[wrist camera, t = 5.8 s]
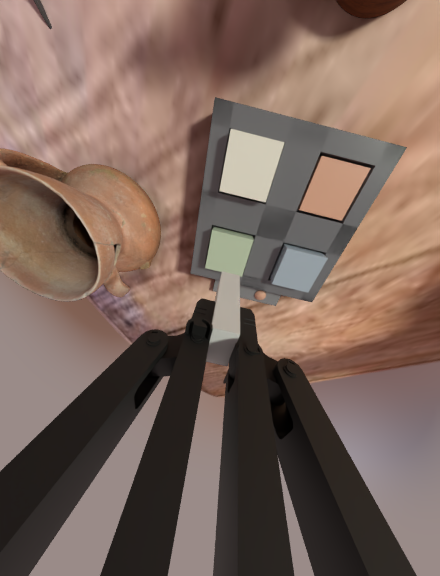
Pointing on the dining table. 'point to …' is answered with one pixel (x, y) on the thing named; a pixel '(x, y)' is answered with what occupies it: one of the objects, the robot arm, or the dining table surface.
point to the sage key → (228, 251)
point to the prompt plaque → (254, 294)
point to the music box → (369, 7)
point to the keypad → (285, 193)
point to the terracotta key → (332, 187)
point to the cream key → (250, 165)
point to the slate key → (297, 268)
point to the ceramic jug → (72, 227)
